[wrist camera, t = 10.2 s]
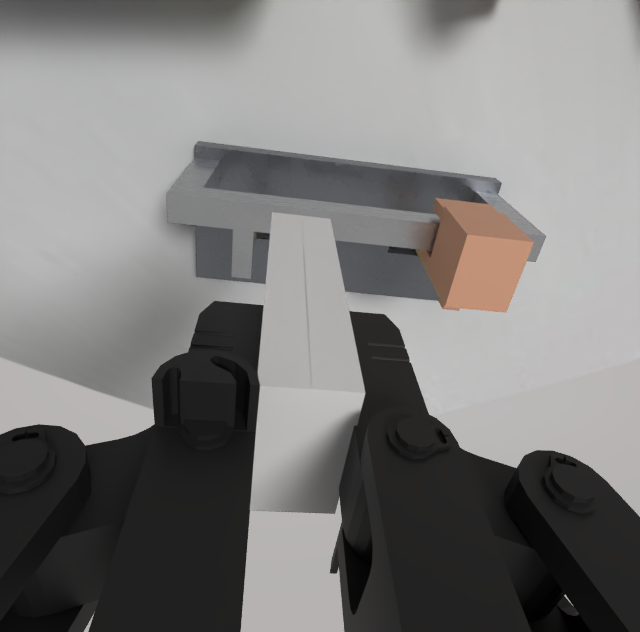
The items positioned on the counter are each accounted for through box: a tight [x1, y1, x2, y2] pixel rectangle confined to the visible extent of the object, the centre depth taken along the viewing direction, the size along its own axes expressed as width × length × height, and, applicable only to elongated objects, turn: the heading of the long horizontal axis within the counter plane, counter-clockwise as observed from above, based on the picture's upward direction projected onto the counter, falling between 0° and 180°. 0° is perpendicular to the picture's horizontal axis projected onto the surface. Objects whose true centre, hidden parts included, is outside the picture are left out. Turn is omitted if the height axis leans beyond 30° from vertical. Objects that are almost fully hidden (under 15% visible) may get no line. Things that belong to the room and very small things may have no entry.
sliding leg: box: [415, 198, 534, 312], centre depth 35 cm, size 4×7×15 cm, turn 173°
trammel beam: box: [166, 158, 546, 279], centre depth 37 cm, size 26×6×11 cm, turn 83°
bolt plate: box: [195, 141, 502, 301], centre depth 43 cm, size 26×12×2 cm, turn 83°
